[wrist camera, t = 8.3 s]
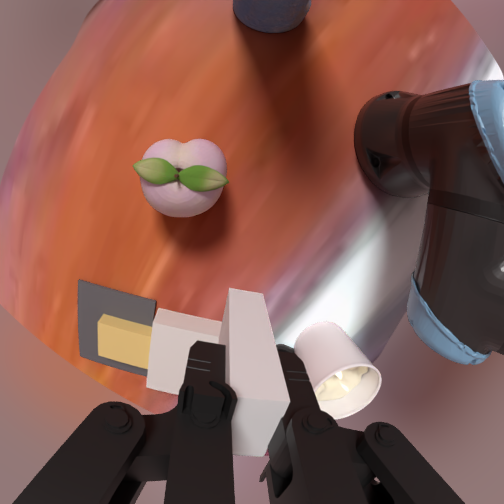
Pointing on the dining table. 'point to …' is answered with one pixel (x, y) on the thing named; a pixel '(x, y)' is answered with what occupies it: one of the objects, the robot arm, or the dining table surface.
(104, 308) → the dark grey mat
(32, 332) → the dining table surface
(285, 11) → the bottle
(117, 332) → the ochre tile
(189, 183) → the decorative fruit
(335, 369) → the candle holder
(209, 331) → the white stand
